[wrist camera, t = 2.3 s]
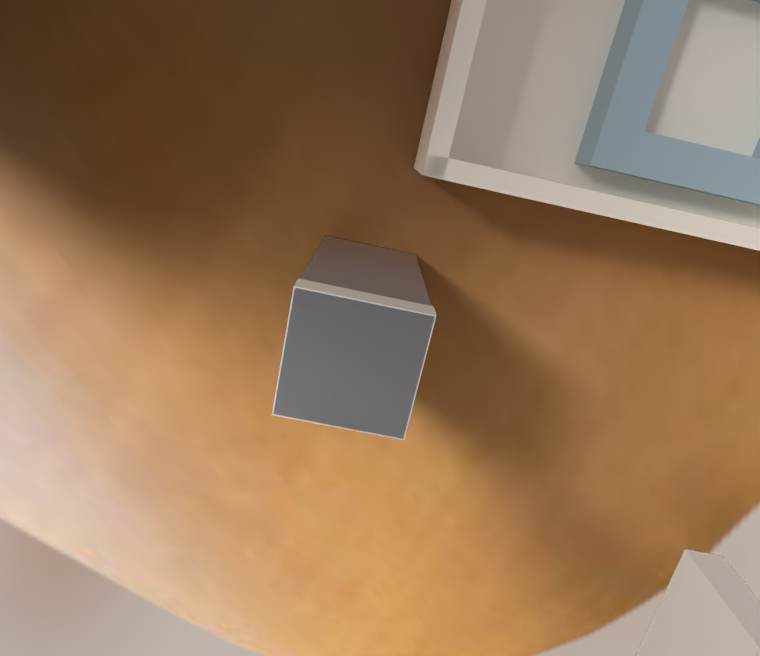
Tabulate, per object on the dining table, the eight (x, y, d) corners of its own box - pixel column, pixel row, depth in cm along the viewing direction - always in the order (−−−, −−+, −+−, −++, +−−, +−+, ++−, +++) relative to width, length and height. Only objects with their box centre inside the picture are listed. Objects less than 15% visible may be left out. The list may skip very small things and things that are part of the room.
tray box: (413, 167, 26) (422, 175, 21) (494, -190, 22) (530, -294, 16) (842, 264, 27) (951, 293, 22) (997, -53, 23) (1177, -108, 18)
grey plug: (308, 322, 28) (271, 414, 19) (324, 234, 27) (293, 285, 17) (396, 340, 29) (404, 440, 19) (417, 253, 27) (436, 315, 18)
